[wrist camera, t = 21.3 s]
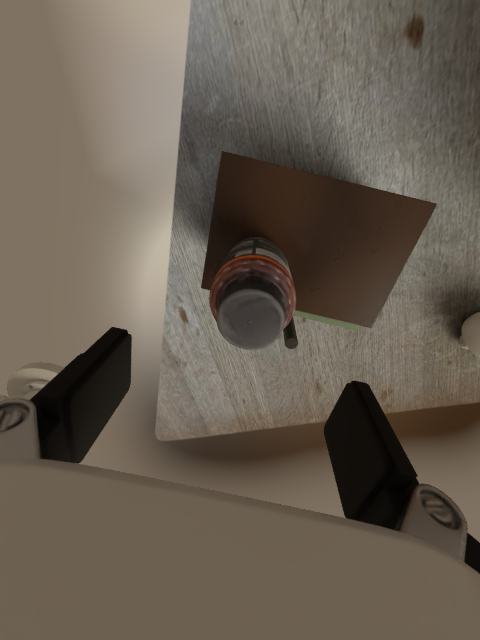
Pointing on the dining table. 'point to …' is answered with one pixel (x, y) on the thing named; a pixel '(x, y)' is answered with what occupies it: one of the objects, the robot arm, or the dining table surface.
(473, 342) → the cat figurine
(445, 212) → the dining table surface
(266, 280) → the supplement bottle
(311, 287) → the cabinet
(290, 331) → the door
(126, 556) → the robot arm
